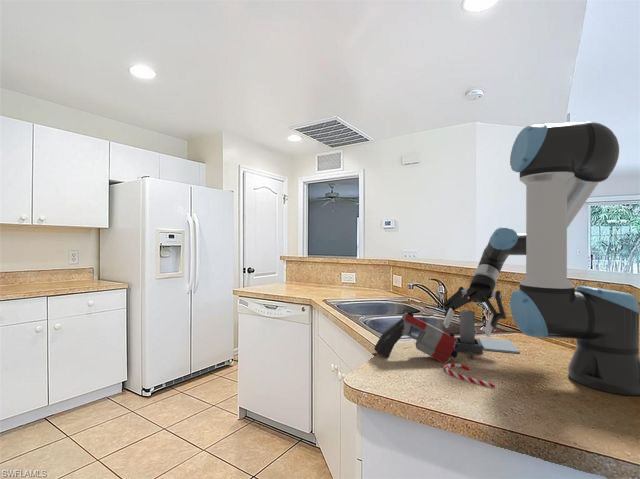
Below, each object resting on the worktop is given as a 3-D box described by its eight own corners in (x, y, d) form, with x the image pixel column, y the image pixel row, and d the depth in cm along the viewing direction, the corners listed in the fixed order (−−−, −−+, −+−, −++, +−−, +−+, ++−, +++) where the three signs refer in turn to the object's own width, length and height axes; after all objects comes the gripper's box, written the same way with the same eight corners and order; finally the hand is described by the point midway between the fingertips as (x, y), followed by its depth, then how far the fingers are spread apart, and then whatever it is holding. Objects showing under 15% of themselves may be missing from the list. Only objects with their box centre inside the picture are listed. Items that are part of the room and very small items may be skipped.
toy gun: (442, 387, 95) (466, 342, 94) (374, 350, 99) (396, 306, 98) (439, 380, 100) (462, 337, 99) (374, 345, 104) (395, 303, 103)
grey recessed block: (486, 360, 96) (485, 352, 96) (456, 357, 99) (456, 349, 99) (479, 346, 110) (479, 338, 110) (453, 343, 112) (453, 336, 112)
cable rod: (475, 351, 104) (475, 309, 105) (460, 349, 106) (460, 308, 106) (473, 347, 109) (473, 307, 109) (459, 345, 110) (459, 306, 110)
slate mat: (519, 353, 103) (519, 351, 103) (484, 350, 106) (484, 348, 106) (510, 342, 114) (510, 340, 114) (478, 339, 117) (478, 337, 117)
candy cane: (485, 387, 77) (436, 365, 90) (485, 392, 77) (436, 370, 90) (506, 381, 80) (456, 361, 94) (506, 386, 80) (456, 365, 94)
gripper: (526, 291, 109) (510, 345, 99) (454, 283, 128) (434, 328, 118) (521, 276, 106) (503, 331, 96) (447, 270, 125) (426, 316, 115)
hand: (465, 330), depth 107 cm, fingers open, 13 cm apart
